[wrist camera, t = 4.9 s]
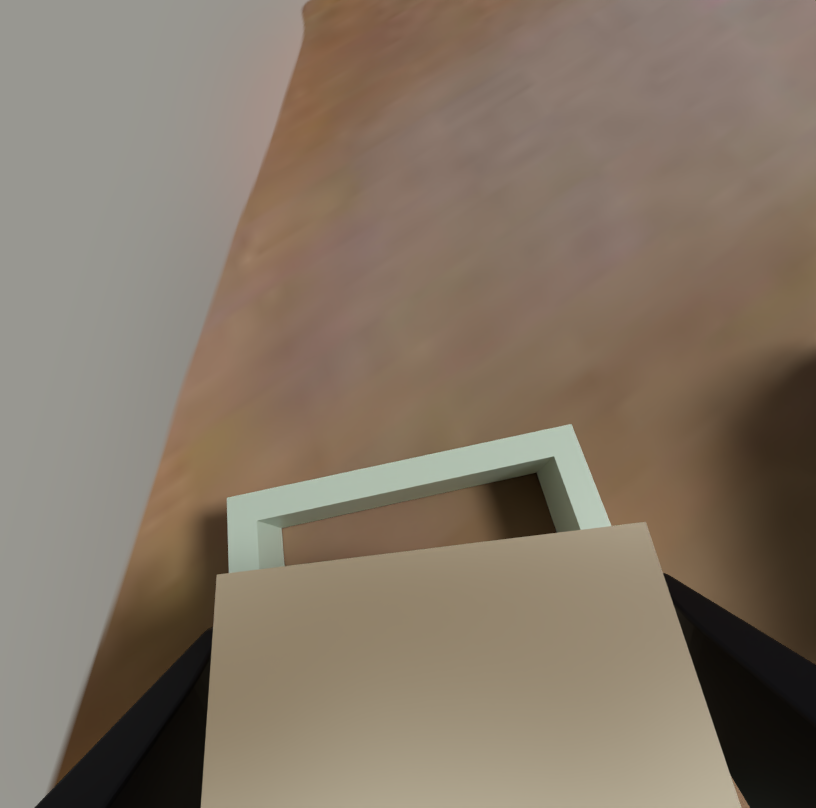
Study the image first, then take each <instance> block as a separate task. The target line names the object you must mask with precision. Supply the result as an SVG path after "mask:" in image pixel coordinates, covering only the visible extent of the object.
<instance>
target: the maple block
mask: <svg viewBox="0 0 816 808" xmlns="http://www.w3.org/2000/svg"><path fill="white" fill-rule="evenodd" d="M201 808H741V805H740V802H739V800H738V797H737V794H736V791H735V788H734V785H733V782H732V779H731V776H730V773H729V770H728V767H727V764H726V761H725V758H724V755H723V752H722V749H721V746H720V743H719V740H718V737H717V734H716V731H715V728H714V725H713V722H712V719H711V716H710V713H709V710H708V707H707V704H706V701H705V698H704V695H703V692H702V689H701V686H700V683H699V680H698V677H697V674H696V671H695V668H694V665H693V662H692V659H691V656H690V653H689V650H688V647H687V644H686V641H685V638H684V635H683V632H682V629H681V626H680V623H679V620H678V617H677V614H676V611H675V608H674V605H673V602H672V599H671V596H670V593H669V590H668V587H667V584H666V581H665V578H664V575H663V572H662V569H661V566H660V563H659V560H658V557H657V554H656V551H655V548H654V545H653V542H652V539H651V536H650V533H649V530H648V527H647V524H646V522H641V523H633V524H624V525H616V526H608V527H600V528H592V529H584V530H576V531H567V532H559V533H551V534H543V535H535V536H527V537H519V538H510V539H502V540H494V541H486V542H478V543H470V544H462V545H454V546H445V547H437V548H429V549H421V550H413V551H405V552H397V553H388V554H380V555H372V556H364V557H356V558H348V559H340V560H331V561H323V562H315V563H307V564H299V565H291V566H283V567H274V568H266V569H258V570H250V571H242V572H234V573H226V574H217V578H216V593H215V607H214V622H213V637H212V651H211V666H210V681H209V695H208V710H207V724H206V739H205V754H204V768H203V783H202V797H201Z"/></svg>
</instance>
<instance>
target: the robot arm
mask: <svg viewBox="0 0 816 808" xmlns="http://www.w3.org/2000/svg"><path fill="white" fill-rule="evenodd" d="M663 575H664V578H665V581H666V584H667V587H668V590H669V593H670V596H671V599H672V602H673V605H674V608H675V611H676V614H677V617H678V620H679V623H680V626H681V629H682V632H683V635H684V638H685V641H686V644H687V647H688V650H689V653H690V656H691V659H692V662H693V665H694V668H695V671H696V674H697V677H698V680H699V683H700V686H701V689H702V692H703V695H704V698H705V701H706V704H707V707H708V710H709V713H710V716H711V719H712V722H713V725H714V728H715V731H716V734H717V737H718V740H719V743H720V746H721V749H722V752H723V755H724V758H725V761H726V764H727V767H728V770H729V773H730V775H731V777H732V778H733V780H734V781H735V783H736V785H737V786H738V788H739V790H740V791H741V793H742V795H743V796H744V798H745V800H746V801H747V803H748V805H749V806H750V808H816V665H815V664H813V663H812V662H810V661H809V660H807V659H805V658H804V657H802V656H800V655H799V654H797V653H795V652H794V651H792V650H791V649H789V648H787V647H786V646H784V645H782V644H781V643H779V642H777V641H776V640H774V639H773V638H771V637H769V636H768V635H766V634H764V633H763V632H761V631H759V630H758V629H756V628H755V627H753V626H751V625H750V624H748V623H746V622H745V621H743V620H742V619H740V618H738V617H737V616H735V615H733V614H732V613H730V612H728V611H727V610H725V609H724V608H722V607H720V606H719V605H717V604H715V603H714V602H712V601H710V600H709V599H707V598H706V597H704V596H702V595H701V594H699V593H697V592H696V591H694V590H692V589H691V588H689V587H688V586H686V585H684V584H683V583H681V582H679V581H678V580H676V579H674V578H673V577H671V576H670V575H668V574H665V573H663ZM212 637H213V627H211V628H209V629H207V630H206V631H205V632H204V633H203V634H202V635H201V636H200V637H199V638H198V639H197V640H196V641H195V642H194V643H193V644H192V645H191V646H190V647H189V648H188V649H187V650H186V652H185V653H184V654H183V655H182V656H181V657H180V658H179V659H178V660H177V661H176V662H175V663H174V664H173V665H172V666H171V667H170V668H169V669H168V670H167V671H166V672H165V673H164V674H163V675H162V676H161V677H160V678H159V679H158V680H157V682H156V683H155V684H154V685H153V686H152V687H151V688H150V689H149V690H148V691H147V692H146V693H145V694H144V695H143V696H142V697H141V698H140V699H139V700H138V701H137V702H136V703H135V704H134V705H133V706H132V707H131V708H130V709H129V710H128V712H127V713H126V714H125V715H124V716H123V717H122V718H121V719H120V720H119V721H118V722H117V723H116V724H115V725H114V726H113V727H112V728H111V729H110V730H109V731H108V732H107V733H106V734H105V735H104V736H103V737H102V738H101V739H100V740H99V742H98V743H97V744H96V745H95V746H94V747H93V748H92V749H91V750H90V751H89V752H88V753H87V754H86V755H85V756H84V757H83V758H82V759H81V760H80V761H79V762H78V763H77V764H76V765H75V766H74V767H73V768H72V769H71V771H70V772H69V773H68V774H67V775H66V776H65V777H64V778H63V779H62V780H61V781H60V782H59V783H58V784H57V785H56V786H55V787H54V788H53V789H52V790H51V791H50V792H49V793H48V794H47V795H46V796H45V797H44V798H43V799H42V801H41V802H40V803H39V804H38V805H37V806H36V807H35V808H201V797H202V783H203V768H204V754H205V739H206V724H207V710H208V695H209V681H210V666H211V651H212Z"/></svg>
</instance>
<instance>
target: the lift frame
mask: <svg viewBox="0 0 816 808" xmlns="http://www.w3.org/2000/svg"><path fill="white" fill-rule="evenodd" d="M533 473H537V476H538V479H539V482H540V484H541V487H542V490H543V493H544V496H545V499H546V502H547V505H548V508H549V511H550V514H551V517H552V520H553V523H554V526H555V529H556V532H557V533H559V532H567V531H576V530H584V529H592V528H600V527H608V526H611V524H610V521H609V519H608V516H607V514H606V511H605V509H604V506H603V503H602V501H601V498H600V496H599V493H598V491H597V488H596V486H595V483H594V481H593V478H592V475H591V473H590V470H589V468H588V465H587V463H586V460H585V458H584V455H583V453H582V450H581V447H580V445H579V442H578V440H577V437H576V435H575V432H574V430H573V427H572V424H570V425H565V426H560V427H555V428H551V429H546V430H541V431H537V432H532V433H527V434H523V435H518V436H513V437H509V438H504V439H499V440H495V441H490V442H485V443H481V444H476V445H471V446H467V447H462V448H457V449H453V450H448V451H443V452H439V453H434V454H429V455H425V456H420V457H415V458H411V459H406V460H401V461H397V462H392V463H387V464H383V465H378V466H373V467H369V468H364V469H359V470H355V471H350V472H345V473H341V474H336V475H331V476H327V477H322V478H317V479H313V480H308V481H303V482H299V483H294V484H289V485H285V486H280V487H275V488H271V489H266V490H261V491H257V492H252V493H247V494H243V495H238V496H233V497H229V498H227V523H228V561H229V573H234V572H242V571H250V570H258V569H266V568H274V567H283V566H284V553H283V540H282V528H285V527H289V526H294V525H299V524H303V523H308V522H312V521H317V520H322V519H326V518H331V517H335V516H340V515H345V514H349V513H354V512H358V511H363V510H367V509H372V508H377V507H381V506H386V505H390V504H395V503H400V502H404V501H409V500H413V499H418V498H423V497H427V496H432V495H436V494H441V493H446V492H450V491H455V490H459V489H464V488H468V487H473V486H478V485H482V484H487V483H491V482H496V481H501V480H505V479H510V478H514V477H519V476H524V475H528V474H533Z"/></svg>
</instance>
